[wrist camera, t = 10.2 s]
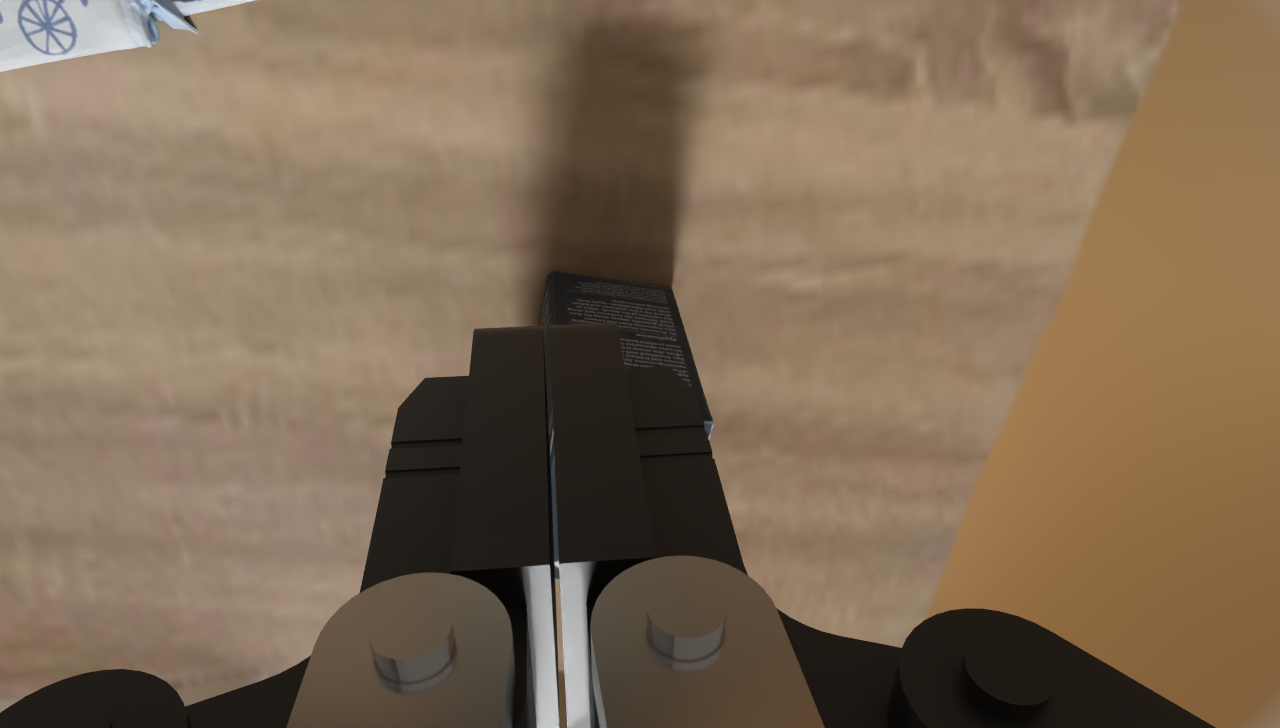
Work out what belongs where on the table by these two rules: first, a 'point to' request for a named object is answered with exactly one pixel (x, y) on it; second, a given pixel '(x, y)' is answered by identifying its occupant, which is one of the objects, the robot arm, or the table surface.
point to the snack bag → (87, 26)
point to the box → (643, 332)
